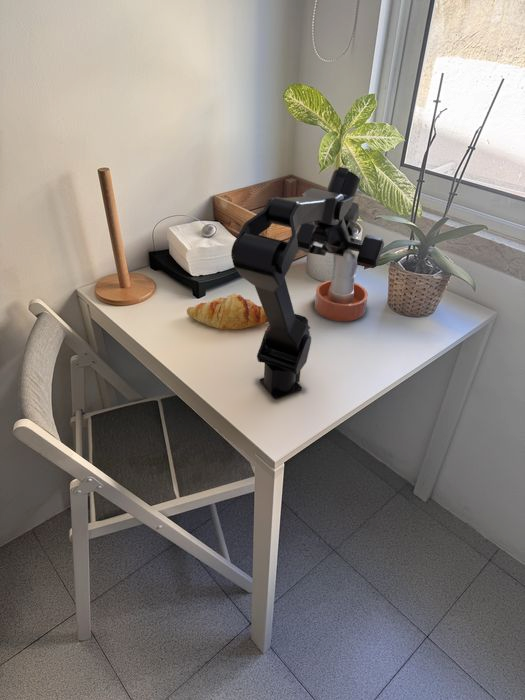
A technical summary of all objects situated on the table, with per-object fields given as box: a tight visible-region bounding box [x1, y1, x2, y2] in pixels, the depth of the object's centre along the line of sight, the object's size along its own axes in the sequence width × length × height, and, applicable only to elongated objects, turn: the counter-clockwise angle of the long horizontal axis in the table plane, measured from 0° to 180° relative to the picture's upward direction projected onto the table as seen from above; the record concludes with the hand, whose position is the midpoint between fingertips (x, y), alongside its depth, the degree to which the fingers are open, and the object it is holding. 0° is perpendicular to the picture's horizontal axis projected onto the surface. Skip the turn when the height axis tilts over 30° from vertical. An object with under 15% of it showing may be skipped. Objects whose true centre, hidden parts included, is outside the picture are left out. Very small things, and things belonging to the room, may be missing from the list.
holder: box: [314, 279, 369, 322], centre depth 127 cm, size 13×13×4 cm
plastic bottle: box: [328, 227, 359, 304], centre depth 122 cm, size 6×7×20 cm
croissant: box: [186, 293, 268, 330], centre depth 120 cm, size 21×10×8 cm, turn 87°
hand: (343, 258), depth 118 cm, fingers open, 9 cm apart
